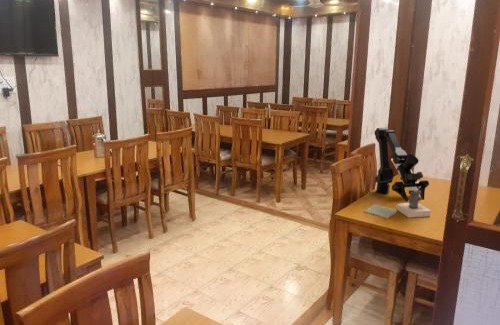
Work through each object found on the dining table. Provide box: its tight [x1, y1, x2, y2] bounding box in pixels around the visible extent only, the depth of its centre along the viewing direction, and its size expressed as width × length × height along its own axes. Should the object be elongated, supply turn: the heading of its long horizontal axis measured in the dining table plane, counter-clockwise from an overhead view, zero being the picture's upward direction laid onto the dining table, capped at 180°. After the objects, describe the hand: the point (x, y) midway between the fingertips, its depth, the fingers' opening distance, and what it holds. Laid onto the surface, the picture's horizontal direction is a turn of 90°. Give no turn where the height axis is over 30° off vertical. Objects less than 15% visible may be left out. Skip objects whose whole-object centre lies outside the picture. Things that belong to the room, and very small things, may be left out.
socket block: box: [395, 202, 431, 219], centre depth 204 cm, size 12×12×3 cm
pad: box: [363, 204, 399, 219], centre depth 206 cm, size 13×13×1 cm
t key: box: [408, 190, 421, 209], centre depth 203 cm, size 3×6×12 cm, turn 99°
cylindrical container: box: [390, 157, 420, 196], centre depth 227 cm, size 7×7×25 cm
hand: (415, 200), depth 202 cm, fingers open, 9 cm apart
